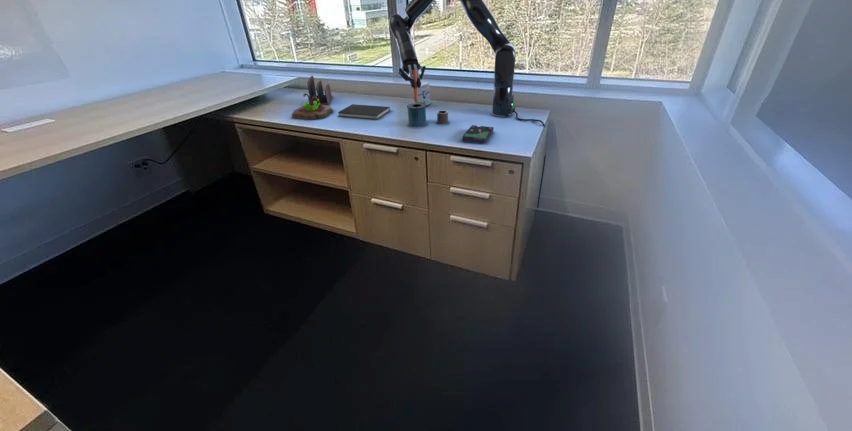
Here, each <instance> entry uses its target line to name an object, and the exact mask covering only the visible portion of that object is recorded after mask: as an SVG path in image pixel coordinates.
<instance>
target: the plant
mask: <svg viewBox="0 0 852 431" xmlns="http://www.w3.org/2000/svg"><path fill="white" fill-rule="evenodd" d="M302 96H303V98H305V97H306V96H307V98H308V101H307V102H304V101H303V104H302V105H301V106H300V107H298V108H296V109H294V110H293V112H292V113H291V118H292V119H299V120H306V121H309V120H310V121H311V120H312V121H313V120H316V119H317V120H320V119H324V118H327V116H328V115H329V114H331V113H333V108H332V106H331V105H320V103H318V104H317V101H319V99H318V98H317V97H316V96H313V97H312V100H311V99H310V96H309V93H303V94H302ZM314 99H317V101H313V100H314ZM316 104H317V105H316Z"/></svg>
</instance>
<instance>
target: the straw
mask: <svg viewBox="0 0 852 431" xmlns="http://www.w3.org/2000/svg"><path fill="white" fill-rule="evenodd" d="M412 76H413V79H414V83H415V88H414V89H413V100H414V103H415V102H418V88H417V70H413V74H412Z"/></svg>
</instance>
